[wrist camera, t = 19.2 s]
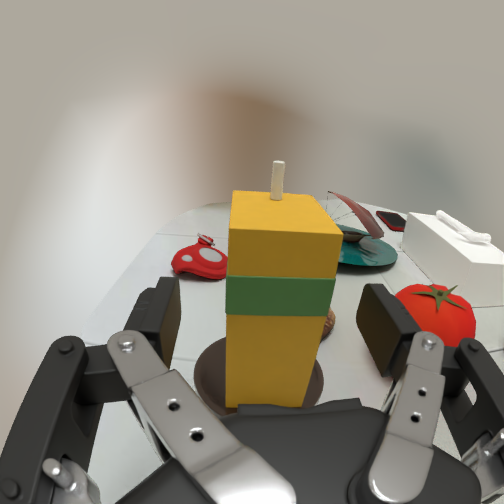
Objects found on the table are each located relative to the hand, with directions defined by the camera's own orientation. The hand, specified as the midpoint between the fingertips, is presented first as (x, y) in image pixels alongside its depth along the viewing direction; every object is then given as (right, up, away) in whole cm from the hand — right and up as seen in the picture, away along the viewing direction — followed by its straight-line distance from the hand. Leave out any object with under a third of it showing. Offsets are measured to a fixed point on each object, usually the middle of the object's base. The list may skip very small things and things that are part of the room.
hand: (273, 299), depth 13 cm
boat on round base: (+16, +3, +51) cm, 53 cm away
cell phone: (+40, +10, +68) cm, 80 cm away
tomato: (+18, -12, +19) cm, 29 cm away
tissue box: (+40, -3, +41) cm, 57 cm away
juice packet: (0, -6, +6) cm, 8 cm away
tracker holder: (-9, -1, +39) cm, 39 cm away
